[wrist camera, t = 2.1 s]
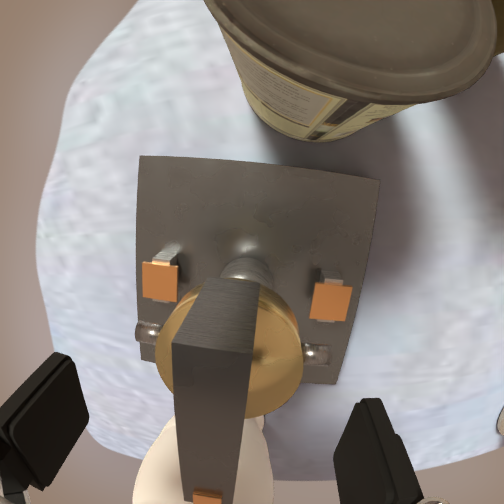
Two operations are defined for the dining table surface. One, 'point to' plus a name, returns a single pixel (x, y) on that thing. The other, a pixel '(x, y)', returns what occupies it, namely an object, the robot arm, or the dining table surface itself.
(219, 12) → the coffee can
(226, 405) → the latch lever
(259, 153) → the dining table surface
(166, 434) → the jar
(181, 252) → the lever latch plate
